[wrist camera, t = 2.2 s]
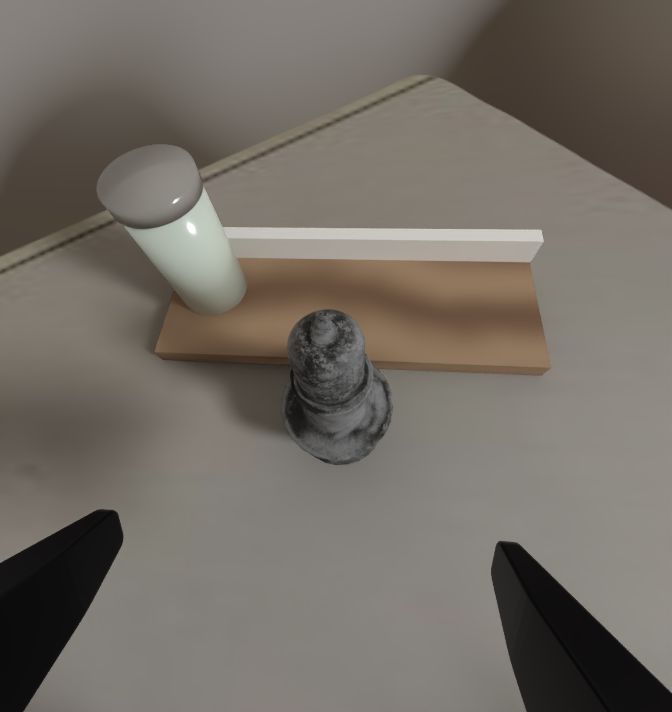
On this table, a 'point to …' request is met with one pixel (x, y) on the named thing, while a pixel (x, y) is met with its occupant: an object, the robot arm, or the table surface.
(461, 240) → the rail
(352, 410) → the grey chess piece
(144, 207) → the sage ceramic jar
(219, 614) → the table surface
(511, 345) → the shelf board
